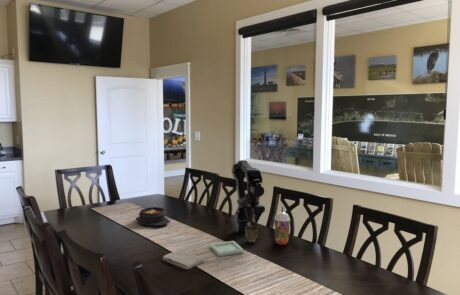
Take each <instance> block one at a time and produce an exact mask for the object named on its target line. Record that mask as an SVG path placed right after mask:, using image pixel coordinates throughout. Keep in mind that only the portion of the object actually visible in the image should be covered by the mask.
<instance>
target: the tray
mask: <svg viewBox="0 0 460 295" xmlns="http://www.w3.org/2000/svg"><path fill="white" fill-rule="evenodd" d="M209 244H210V245H209V246H210V249H211V250H212V251H213V252H214V253H215V254H216V255H217V256H218V257H226V256H231V255H237V254H243V253H244V249H243V248H242V247H241V246H240V245H239V244H238V243H237V242H236V241H234V240H231V241H230V240H229V241H223V242H222V241H221V242H216V243H215V242H214V243H209Z"/></svg>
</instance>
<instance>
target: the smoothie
mask: <svg viewBox="0 0 460 295" xmlns="http://www.w3.org/2000/svg"><path fill="white" fill-rule="evenodd" d="M273 218H274V219H273V220H274V234H275V236H274V237H275V238H274V239H275V240H274V241H275V242H276V245H279V246H285V245H286V246H287V244H288V242H289V238H290V237H289V236H290V235H289V234H290V226H291V218H290V216H289V214H288V213H287V212H285V211H284V206H281V211H279V212H278V213H276V215H275V217H273Z"/></svg>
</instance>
